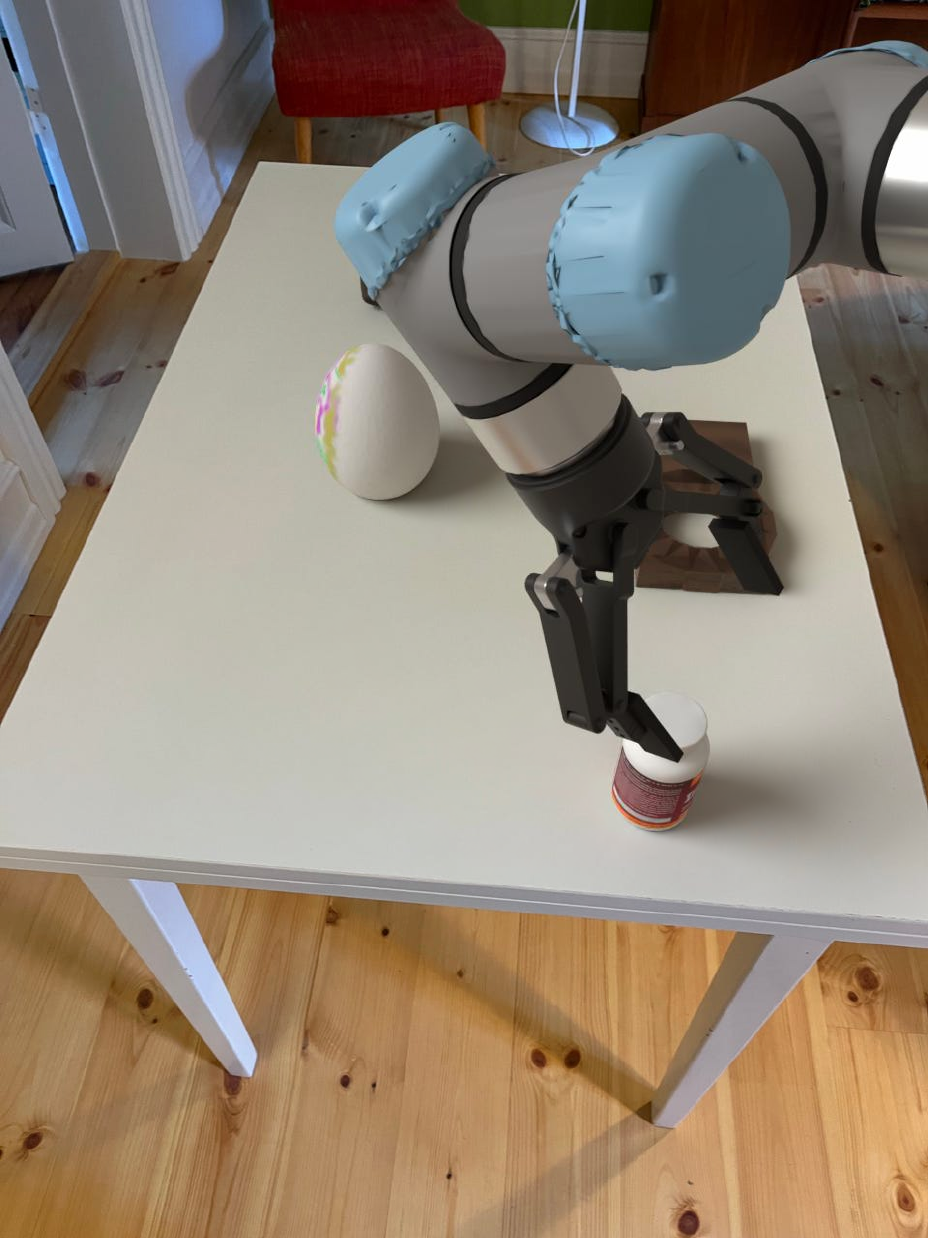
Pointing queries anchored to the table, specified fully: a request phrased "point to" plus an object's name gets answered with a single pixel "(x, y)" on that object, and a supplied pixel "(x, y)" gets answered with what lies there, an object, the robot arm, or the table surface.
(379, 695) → the table surface
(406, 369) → the decorative egg
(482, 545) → the table surface
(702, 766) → the pill bottle
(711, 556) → the plate
